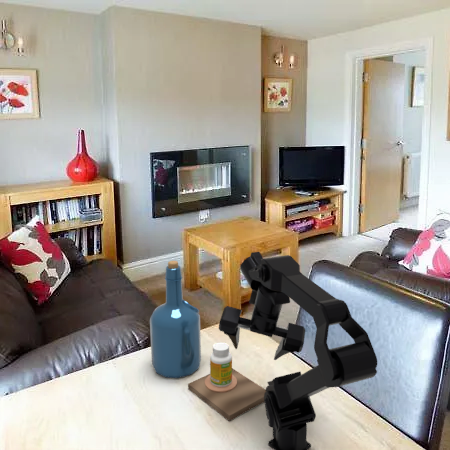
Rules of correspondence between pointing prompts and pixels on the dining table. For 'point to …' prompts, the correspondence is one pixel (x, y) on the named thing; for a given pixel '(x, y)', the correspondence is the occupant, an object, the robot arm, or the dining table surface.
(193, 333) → the wine bottle
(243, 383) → the walnut board
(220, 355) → the supplement bottle
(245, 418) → the dining table surface
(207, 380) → the coaster
